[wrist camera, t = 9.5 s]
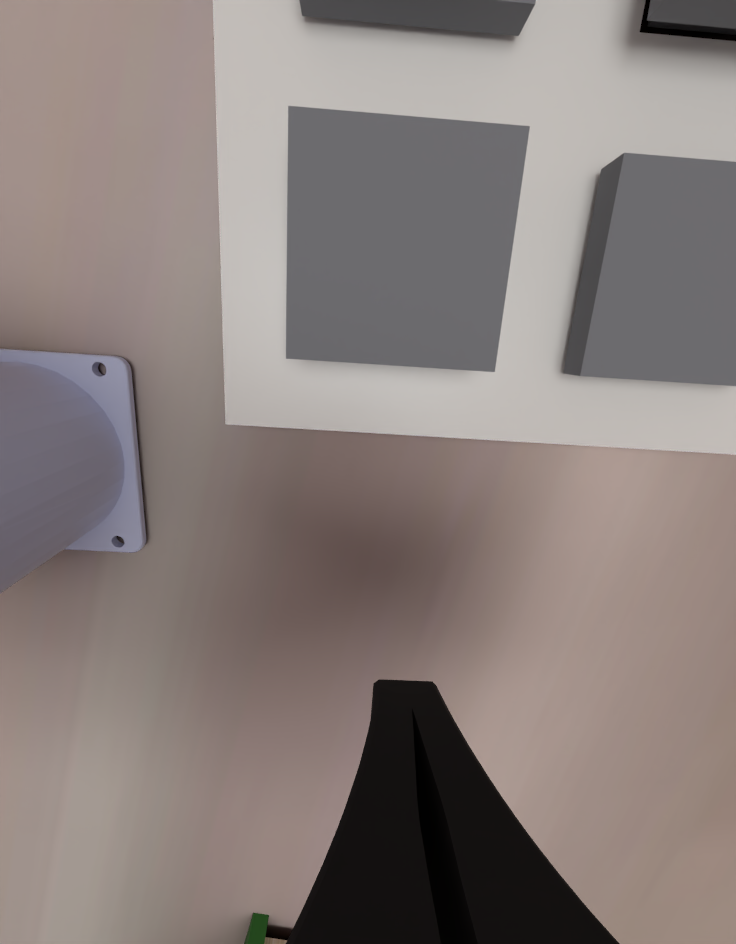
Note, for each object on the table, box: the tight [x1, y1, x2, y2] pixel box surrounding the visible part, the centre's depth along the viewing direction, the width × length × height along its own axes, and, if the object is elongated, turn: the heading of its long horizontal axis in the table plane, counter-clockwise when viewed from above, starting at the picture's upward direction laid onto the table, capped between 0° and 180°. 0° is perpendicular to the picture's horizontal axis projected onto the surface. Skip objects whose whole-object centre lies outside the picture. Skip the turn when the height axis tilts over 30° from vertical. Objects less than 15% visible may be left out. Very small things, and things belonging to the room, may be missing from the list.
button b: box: [563, 153, 736, 386], centre depth 14 cm, size 6×6×3 cm
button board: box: [213, 0, 736, 455], centre depth 14 cm, size 20×20×2 cm
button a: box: [286, 106, 530, 372], centre depth 13 cm, size 6×6×3 cm
